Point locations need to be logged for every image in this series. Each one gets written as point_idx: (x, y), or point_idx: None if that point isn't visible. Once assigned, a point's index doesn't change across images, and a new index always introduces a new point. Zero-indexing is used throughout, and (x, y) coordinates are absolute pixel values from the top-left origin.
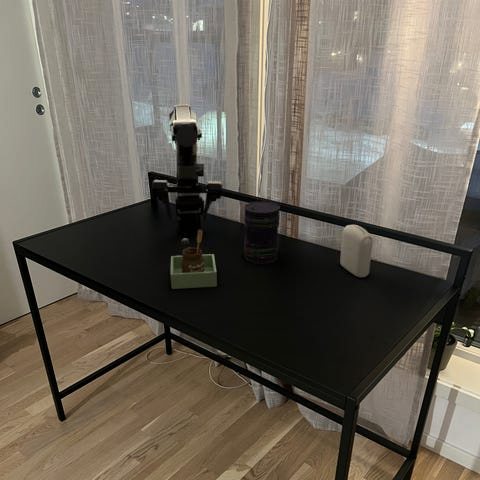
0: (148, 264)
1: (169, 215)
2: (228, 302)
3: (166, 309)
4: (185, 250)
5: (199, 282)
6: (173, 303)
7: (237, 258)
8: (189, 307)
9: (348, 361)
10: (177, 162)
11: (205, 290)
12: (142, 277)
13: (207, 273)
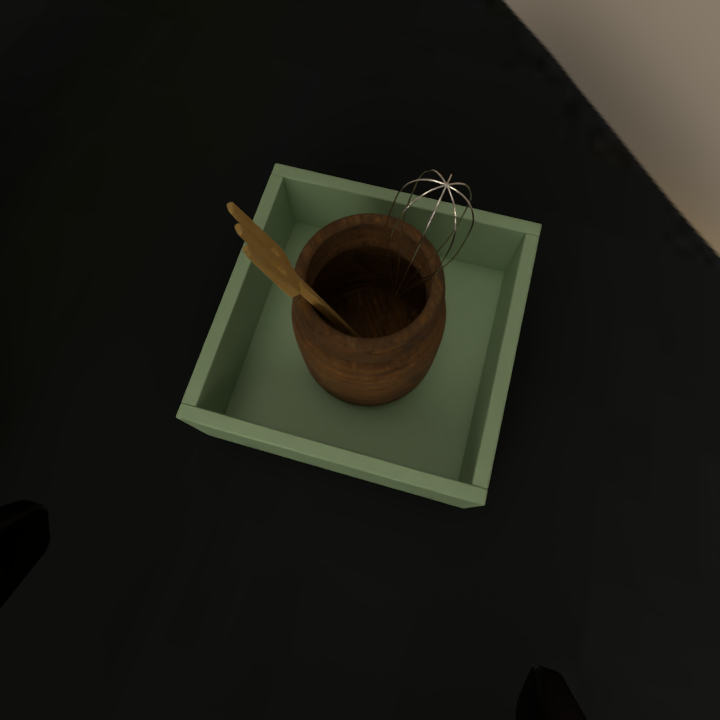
0: (608, 672)
1: (571, 711)
2: (300, 75)
3: (571, 106)
4: (410, 324)
5: None
6: (532, 141)
7: None
8: (471, 91)
9: None
10: None
11: None
12: (662, 471)
13: (326, 178)
